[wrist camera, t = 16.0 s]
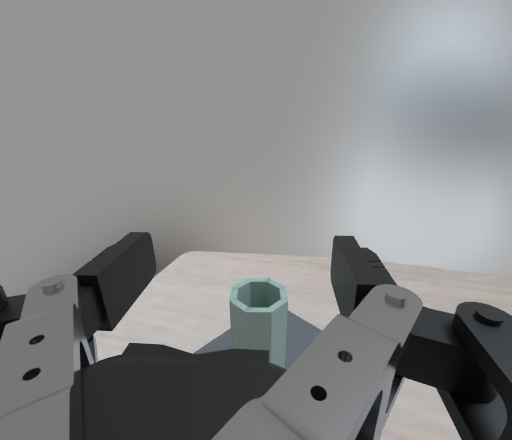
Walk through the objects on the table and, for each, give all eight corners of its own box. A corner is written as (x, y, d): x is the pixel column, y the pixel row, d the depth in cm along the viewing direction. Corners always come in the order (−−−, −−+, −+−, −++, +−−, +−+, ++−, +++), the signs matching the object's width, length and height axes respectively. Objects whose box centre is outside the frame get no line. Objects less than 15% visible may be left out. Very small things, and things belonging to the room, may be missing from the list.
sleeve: (259, 351, 33) (258, 271, 29) (295, 380, 29) (300, 293, 25) (222, 379, 29) (217, 293, 26) (258, 417, 26) (258, 323, 22)
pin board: (271, 309, 43) (271, 276, 41) (373, 371, 32) (381, 331, 30) (127, 409, 28) (116, 366, 26) (227, 585, 17) (223, 536, 15)
